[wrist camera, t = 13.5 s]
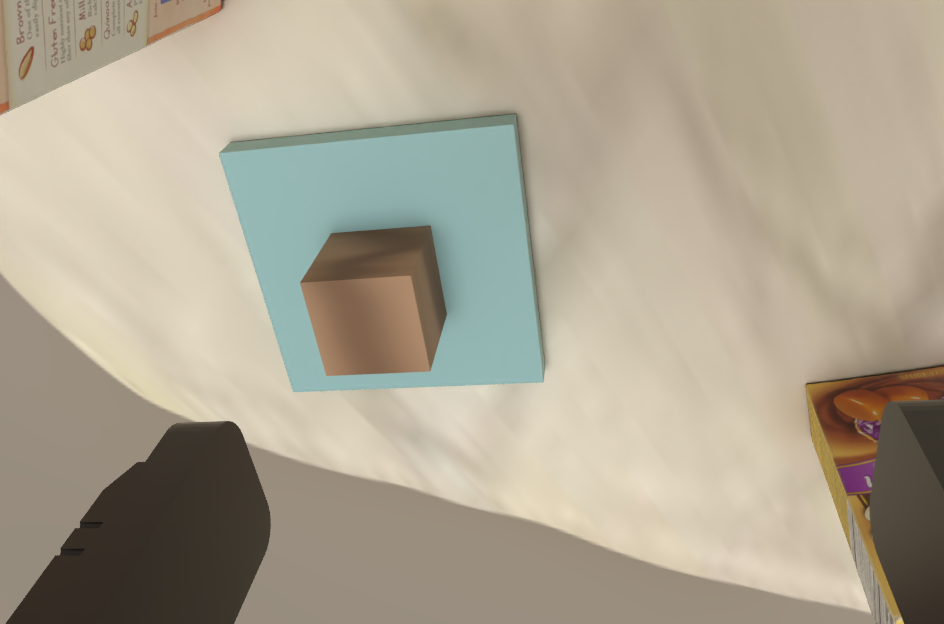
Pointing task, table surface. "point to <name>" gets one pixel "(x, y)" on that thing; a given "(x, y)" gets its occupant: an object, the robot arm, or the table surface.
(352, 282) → the walnut cube
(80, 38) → the cracker box
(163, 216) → the table surface
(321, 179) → the teal board
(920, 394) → the candy box
